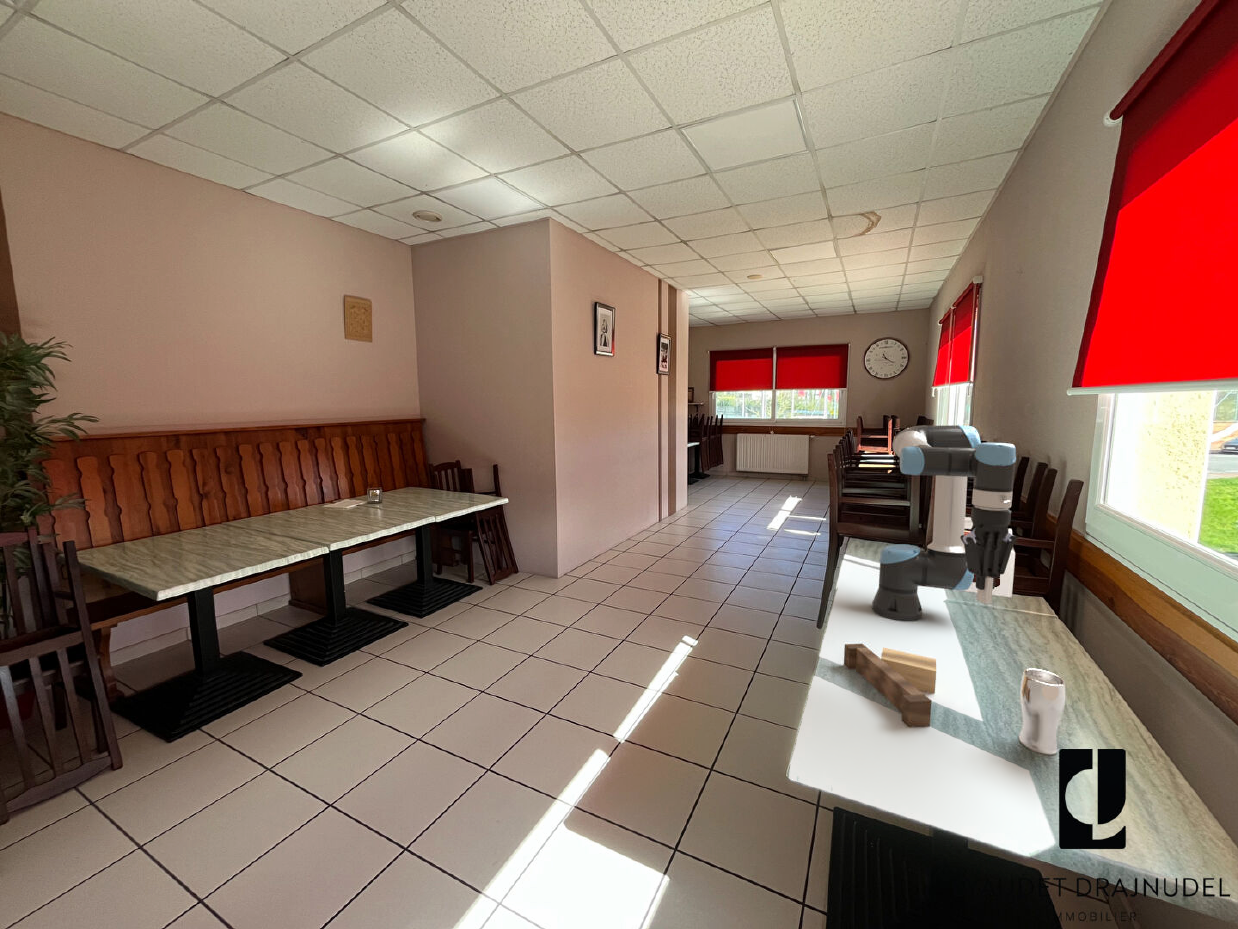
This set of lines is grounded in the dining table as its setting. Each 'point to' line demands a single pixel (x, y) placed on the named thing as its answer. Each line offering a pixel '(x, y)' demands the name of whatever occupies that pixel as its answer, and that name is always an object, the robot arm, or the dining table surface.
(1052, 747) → the silver metal tumbler
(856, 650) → the brown wooden bar
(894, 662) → the oak block
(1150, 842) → the dining table surface
